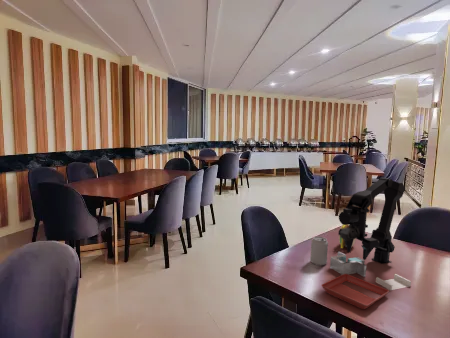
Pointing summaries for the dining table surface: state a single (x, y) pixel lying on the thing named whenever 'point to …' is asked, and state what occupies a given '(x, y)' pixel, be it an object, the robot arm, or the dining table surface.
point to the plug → (356, 260)
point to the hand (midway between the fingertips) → (356, 255)
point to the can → (319, 251)
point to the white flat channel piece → (394, 282)
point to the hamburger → (343, 239)
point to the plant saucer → (353, 291)
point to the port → (347, 265)
